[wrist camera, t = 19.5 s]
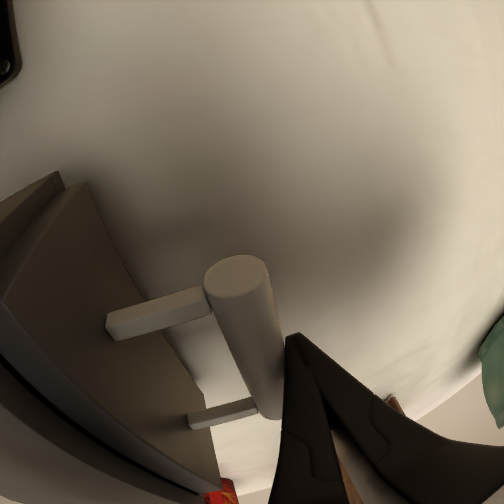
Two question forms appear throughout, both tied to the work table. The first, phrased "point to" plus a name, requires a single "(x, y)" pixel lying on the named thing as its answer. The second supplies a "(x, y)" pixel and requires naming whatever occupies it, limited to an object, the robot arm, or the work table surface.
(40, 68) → the work table surface
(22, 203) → the dark grey box
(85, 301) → the drawer
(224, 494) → the mug
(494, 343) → the flower pot
